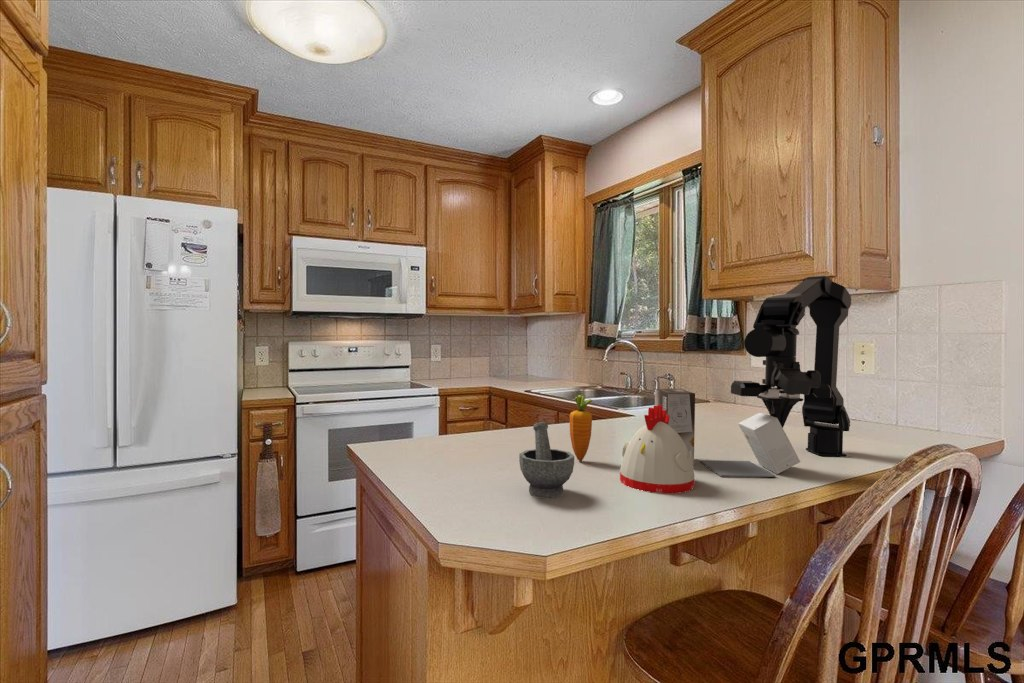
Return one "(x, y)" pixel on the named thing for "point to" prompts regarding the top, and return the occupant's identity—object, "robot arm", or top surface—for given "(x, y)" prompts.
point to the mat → (736, 468)
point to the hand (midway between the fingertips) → (778, 429)
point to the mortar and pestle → (545, 466)
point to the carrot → (580, 428)
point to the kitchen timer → (657, 457)
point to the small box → (769, 442)
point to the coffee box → (679, 413)
